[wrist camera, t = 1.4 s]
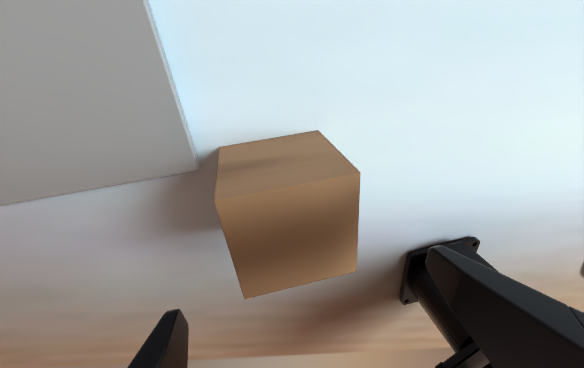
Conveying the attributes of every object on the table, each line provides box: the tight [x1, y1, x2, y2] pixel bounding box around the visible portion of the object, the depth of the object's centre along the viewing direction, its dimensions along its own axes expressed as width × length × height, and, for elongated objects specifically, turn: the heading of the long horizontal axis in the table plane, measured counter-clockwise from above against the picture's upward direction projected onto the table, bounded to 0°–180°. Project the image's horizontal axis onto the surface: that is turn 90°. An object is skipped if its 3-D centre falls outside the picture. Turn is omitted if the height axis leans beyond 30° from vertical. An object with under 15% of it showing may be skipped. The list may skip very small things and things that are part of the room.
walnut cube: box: [214, 130, 360, 299], centre depth 13 cm, size 6×6×6 cm
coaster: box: [0, 0, 200, 206], centre depth 10 cm, size 10×10×1 cm
